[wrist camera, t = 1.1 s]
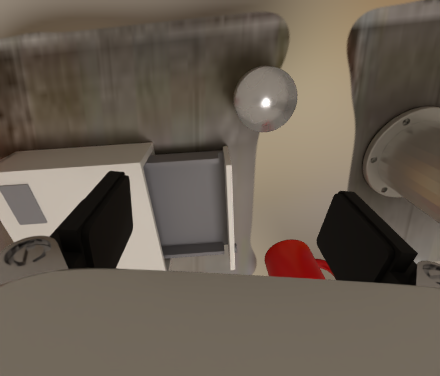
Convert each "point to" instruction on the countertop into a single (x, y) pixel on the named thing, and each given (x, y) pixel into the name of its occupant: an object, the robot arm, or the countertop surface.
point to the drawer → (192, 202)
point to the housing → (78, 194)
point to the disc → (265, 98)
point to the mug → (294, 261)
